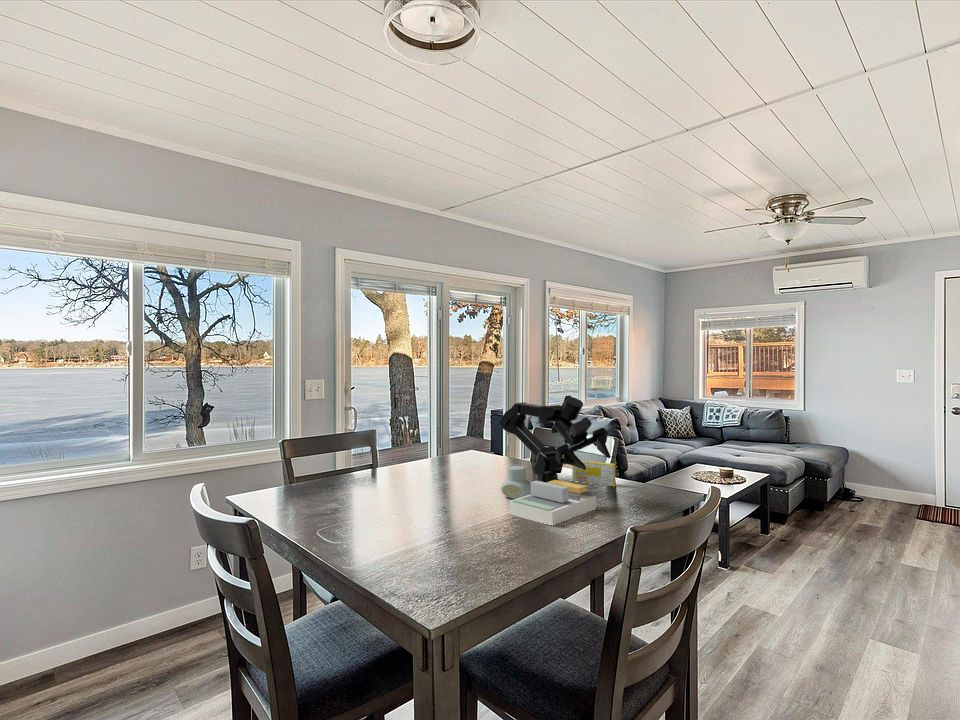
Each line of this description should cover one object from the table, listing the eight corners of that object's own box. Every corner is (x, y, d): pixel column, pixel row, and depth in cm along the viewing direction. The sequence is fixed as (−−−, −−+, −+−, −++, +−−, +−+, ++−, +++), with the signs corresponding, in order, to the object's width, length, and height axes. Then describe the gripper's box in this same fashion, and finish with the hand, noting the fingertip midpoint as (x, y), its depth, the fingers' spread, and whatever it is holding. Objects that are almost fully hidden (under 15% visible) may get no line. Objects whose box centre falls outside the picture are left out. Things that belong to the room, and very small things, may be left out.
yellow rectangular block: (547, 486, 163) (547, 481, 163) (555, 484, 166) (555, 479, 166) (579, 493, 155) (579, 488, 155) (586, 490, 157) (586, 486, 157)
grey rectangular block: (530, 495, 157) (530, 482, 157) (536, 493, 159) (536, 480, 159) (562, 502, 149) (562, 489, 149) (568, 500, 151) (568, 487, 151)
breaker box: (509, 514, 153) (509, 495, 153) (554, 499, 169) (554, 482, 169) (552, 526, 142) (552, 506, 142) (595, 509, 157) (595, 491, 157)
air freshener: (536, 496, 174) (536, 466, 174) (527, 502, 166) (527, 471, 166) (507, 492, 178) (507, 463, 178) (497, 498, 171) (497, 468, 171)
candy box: (616, 486, 186) (615, 463, 186) (614, 487, 184) (614, 464, 184) (574, 481, 195) (573, 459, 195) (571, 482, 193) (571, 460, 193)
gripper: (545, 424, 162) (574, 457, 151) (593, 403, 168) (624, 434, 157) (545, 448, 169) (572, 481, 158) (591, 427, 175) (620, 458, 164)
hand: (597, 463), depth 159 cm, fingers open, 9 cm apart
